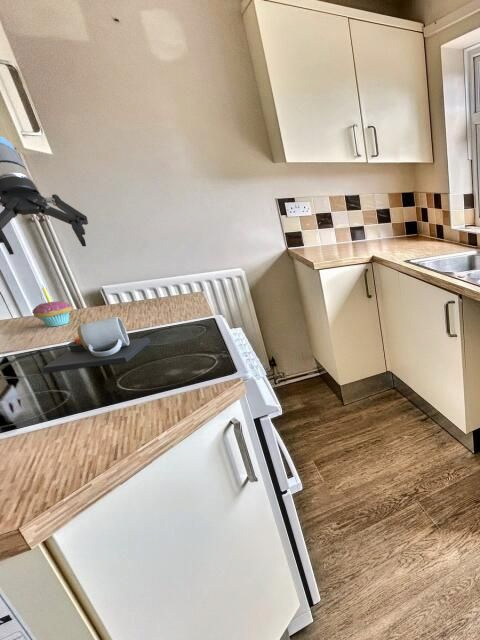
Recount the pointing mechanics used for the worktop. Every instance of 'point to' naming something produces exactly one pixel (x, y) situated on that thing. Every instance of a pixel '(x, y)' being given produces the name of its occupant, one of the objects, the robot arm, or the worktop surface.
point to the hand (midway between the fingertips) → (48, 247)
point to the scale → (85, 358)
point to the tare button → (77, 340)
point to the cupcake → (53, 312)
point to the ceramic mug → (103, 336)
